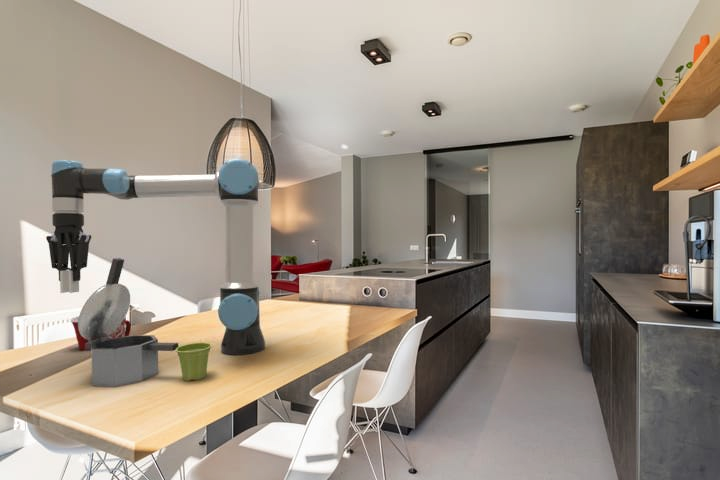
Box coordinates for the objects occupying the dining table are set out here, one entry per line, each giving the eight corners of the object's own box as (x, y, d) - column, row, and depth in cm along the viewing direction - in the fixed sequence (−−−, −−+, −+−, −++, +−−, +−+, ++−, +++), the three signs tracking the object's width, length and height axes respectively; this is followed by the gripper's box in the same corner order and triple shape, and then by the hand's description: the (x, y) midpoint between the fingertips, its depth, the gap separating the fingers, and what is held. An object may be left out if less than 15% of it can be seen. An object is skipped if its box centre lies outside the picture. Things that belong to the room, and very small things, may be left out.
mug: (111, 363, 125) (110, 322, 125) (88, 362, 127) (87, 321, 127) (141, 352, 138) (140, 314, 138) (119, 351, 140) (119, 314, 140)
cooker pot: (192, 368, 118) (191, 335, 118) (157, 388, 103) (156, 350, 103) (110, 366, 123) (109, 334, 123) (64, 385, 107) (64, 348, 107)
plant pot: (189, 385, 104) (189, 353, 104) (169, 379, 109) (168, 348, 109) (219, 375, 112) (218, 344, 112) (198, 370, 117) (198, 341, 117)
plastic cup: (63, 352, 140) (62, 319, 140) (85, 344, 151) (84, 313, 151) (92, 352, 140) (91, 318, 140) (112, 344, 151) (111, 313, 151)
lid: (142, 258, 122) (135, 256, 122) (97, 261, 105) (88, 258, 105) (122, 335, 123) (114, 332, 123) (74, 350, 106) (65, 347, 106)
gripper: (101, 213, 118) (102, 290, 118) (57, 214, 121) (59, 290, 121) (79, 211, 111) (81, 293, 111) (34, 213, 113) (35, 294, 113)
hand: (69, 292), depth 116 cm, fingers open, 2 cm apart
